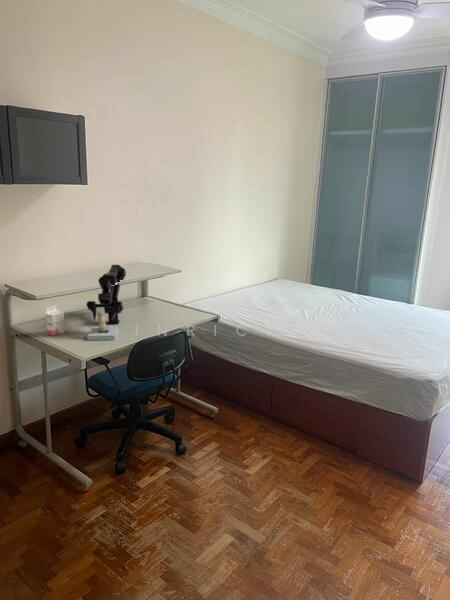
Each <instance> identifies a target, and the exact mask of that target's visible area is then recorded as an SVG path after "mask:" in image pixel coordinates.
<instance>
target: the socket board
mask: <svg viewBox="0 0 450 600" xmlns="http://www.w3.org/2000/svg"><path fill="white" fill-rule="evenodd" d="M106 331H107V333H100V331H99V327H91V329H90V330H89V332H88V334H87V337H86V338H87V341H115V340H116V338H117V337H118V334H119V327H116V326H115V327H113V326H109V327H108V326H106Z"/></svg>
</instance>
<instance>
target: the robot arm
mask: <svg viewBox="0 0 450 600" xmlns="http://www.w3.org/2000/svg"><path fill="white" fill-rule="evenodd" d="M126 275H127V272H126V269H125V268H123V267H122V266H121V265H120V264H111V266H110V268H109V271H108V272H106V273H104V274H102V276H100V277H99V279H98V284H99V287H100V289H101V293H98V294H97V299H98V302H99V303H96V301H95V300H88V301H87V302H86V307H87V309H88V310H89V311H91V312H92V317H93V320H94V321H95V320H96V318H97V309H98V308H103V309H104V313H105V314H107V318H108V319H107V324H106V325H118V324H119V323H120V319H119V314H121V313H122V311H124V304H123V302H122V301H119V292H120V288H121V284H120V285H119V283H118V285H115V283H116V282H120V280H123V279H124V280H125V278H126ZM124 280H123V281H124ZM112 285H115V286H112Z"/></svg>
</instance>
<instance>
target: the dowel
mask: <svg viewBox="0 0 450 600" xmlns="http://www.w3.org/2000/svg"><path fill="white" fill-rule="evenodd" d="M105 314H106V313H105V311H103V310H102V311H98V312H96V315H97V324H98V328H99V331H100V333H107V331H106V327H107V324H106V316H105Z"/></svg>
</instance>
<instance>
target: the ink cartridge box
mask: <svg viewBox="0 0 450 600" xmlns="http://www.w3.org/2000/svg"><path fill="white" fill-rule="evenodd" d="M45 322H46V323H45V324H46V335H48V336H52V337H56V336H57V335H59V334H62V333H65V331H66V330H65V329H66V327H65V313H64V311H62V310H58V305H57V304H56V305H53V306H50V307H47V308H45Z"/></svg>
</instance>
